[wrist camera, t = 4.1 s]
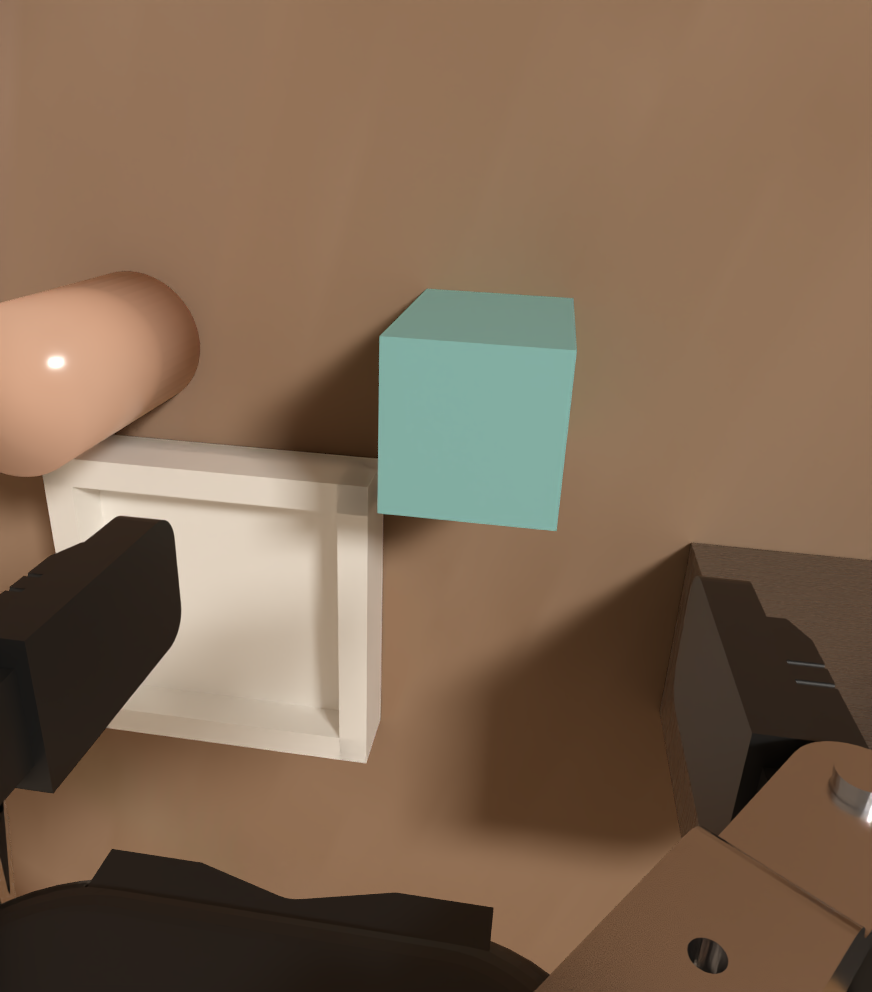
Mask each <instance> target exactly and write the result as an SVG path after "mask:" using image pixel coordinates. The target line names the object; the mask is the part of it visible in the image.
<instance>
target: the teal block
mask: <svg viewBox="0 0 872 992" xmlns="http://www.w3.org/2000/svg"><path fill="white" fill-rule="evenodd" d="M576 352H577V347H576V332H575V317H574V301H573V298H560V297H545V296H529V295H514V294H499V293H483V292H468V291H453V290H437V289H426V290H425V291H424V292H423V293H422V294H421V295H420V296H419V297H418V298H417V299H416V300H415V301H414V302H413V303H412V304H411V305H410V306H409V307H408V308H407V309H406V310H405V311H404V312H403V313H402V314H401V315H400V316H399V317H398V318H397V319H396V320H395V321H394V322H393V323H392V324H391V325H390V326H389V327H388V328H387V329H386V330H385V331H384V332H383V333H382V334H381V335H380V338H379V421H378V504H377V513H380V514H390V515H400V516H410V517H420V518H430V519H440V520H450V521H460V522H470V523H480V524H491V525H501V526H511V527H521V528H531V529H541V530H551V531H556V530H557V522H558V513H559V504H560V495H561V486H562V477H563V468H564V459H565V450H566V441H567V433H568V424H569V415H570V406H571V397H572V388H573V379H574V370H575V361H576Z"/></svg>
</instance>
